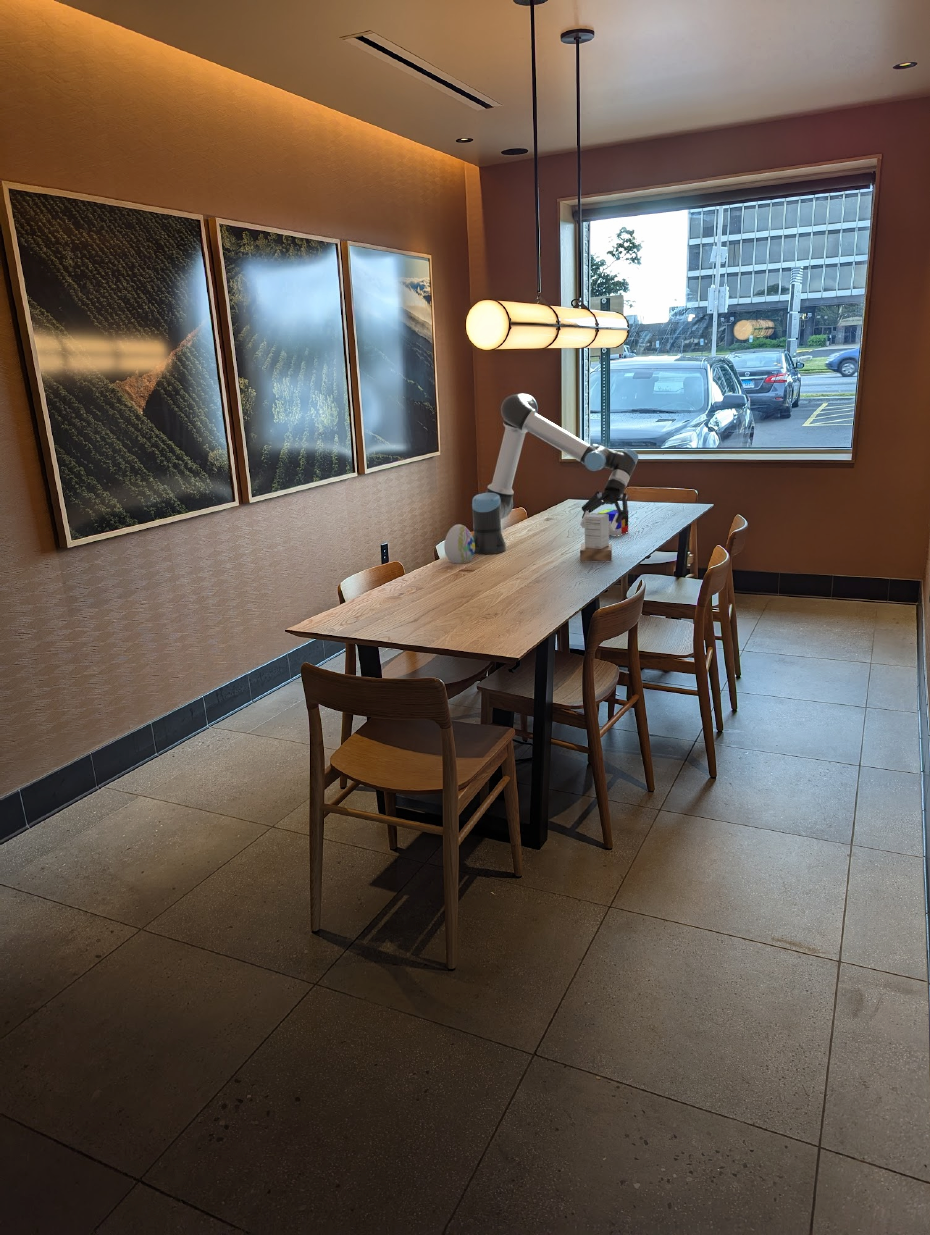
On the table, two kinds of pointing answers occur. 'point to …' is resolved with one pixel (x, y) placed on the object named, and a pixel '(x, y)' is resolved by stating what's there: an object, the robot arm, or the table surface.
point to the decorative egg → (459, 544)
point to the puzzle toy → (621, 526)
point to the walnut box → (595, 553)
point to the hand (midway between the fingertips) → (596, 527)
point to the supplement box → (596, 530)
